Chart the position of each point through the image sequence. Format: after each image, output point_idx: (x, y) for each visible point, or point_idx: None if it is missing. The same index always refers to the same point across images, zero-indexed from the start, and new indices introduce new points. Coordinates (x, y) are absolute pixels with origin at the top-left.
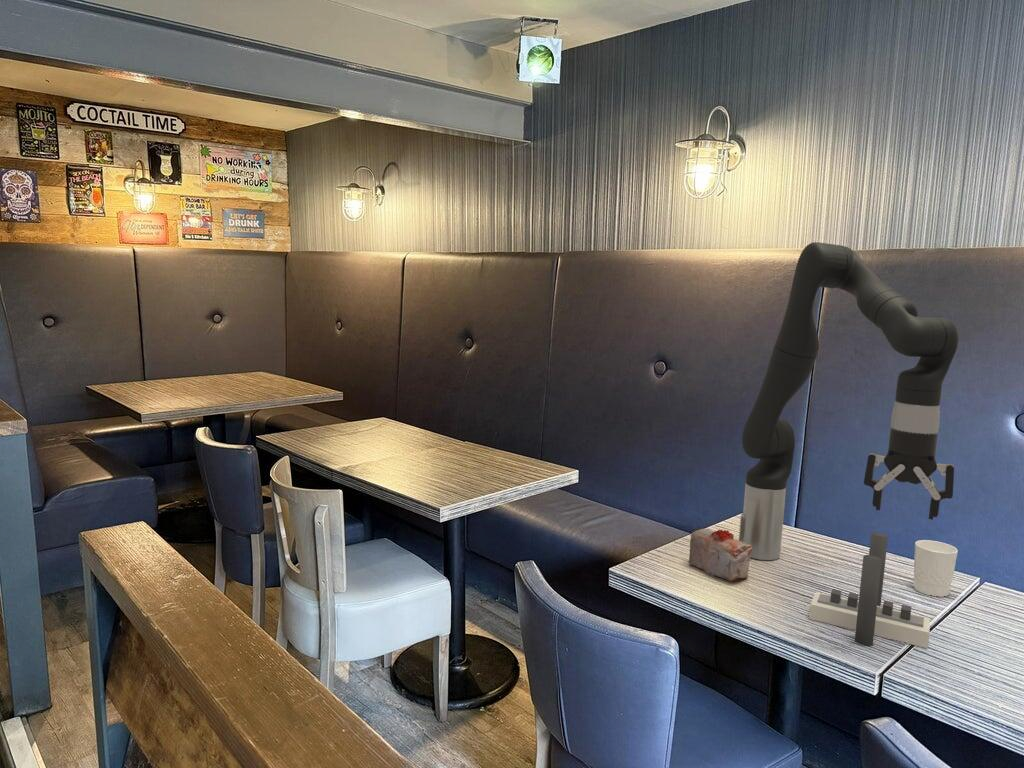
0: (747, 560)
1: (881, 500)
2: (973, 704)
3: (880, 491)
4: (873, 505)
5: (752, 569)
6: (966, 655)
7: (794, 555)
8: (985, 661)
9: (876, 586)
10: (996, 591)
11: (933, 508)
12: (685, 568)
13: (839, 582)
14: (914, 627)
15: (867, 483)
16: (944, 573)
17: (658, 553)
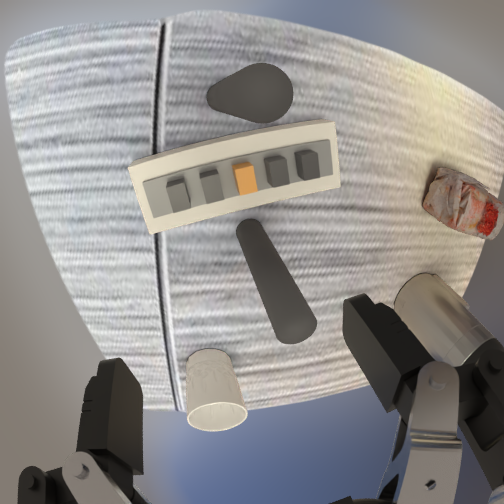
0: (442, 212)
1: (362, 357)
2: (43, 41)
3: (409, 371)
4: (382, 304)
5: (419, 240)
6: (85, 190)
7: None
8: (62, 194)
9: (222, 83)
10: (156, 404)
11: (95, 407)
12: (475, 175)
13: (316, 296)
14: (154, 167)
15: (493, 359)
16: (192, 382)
17: None
